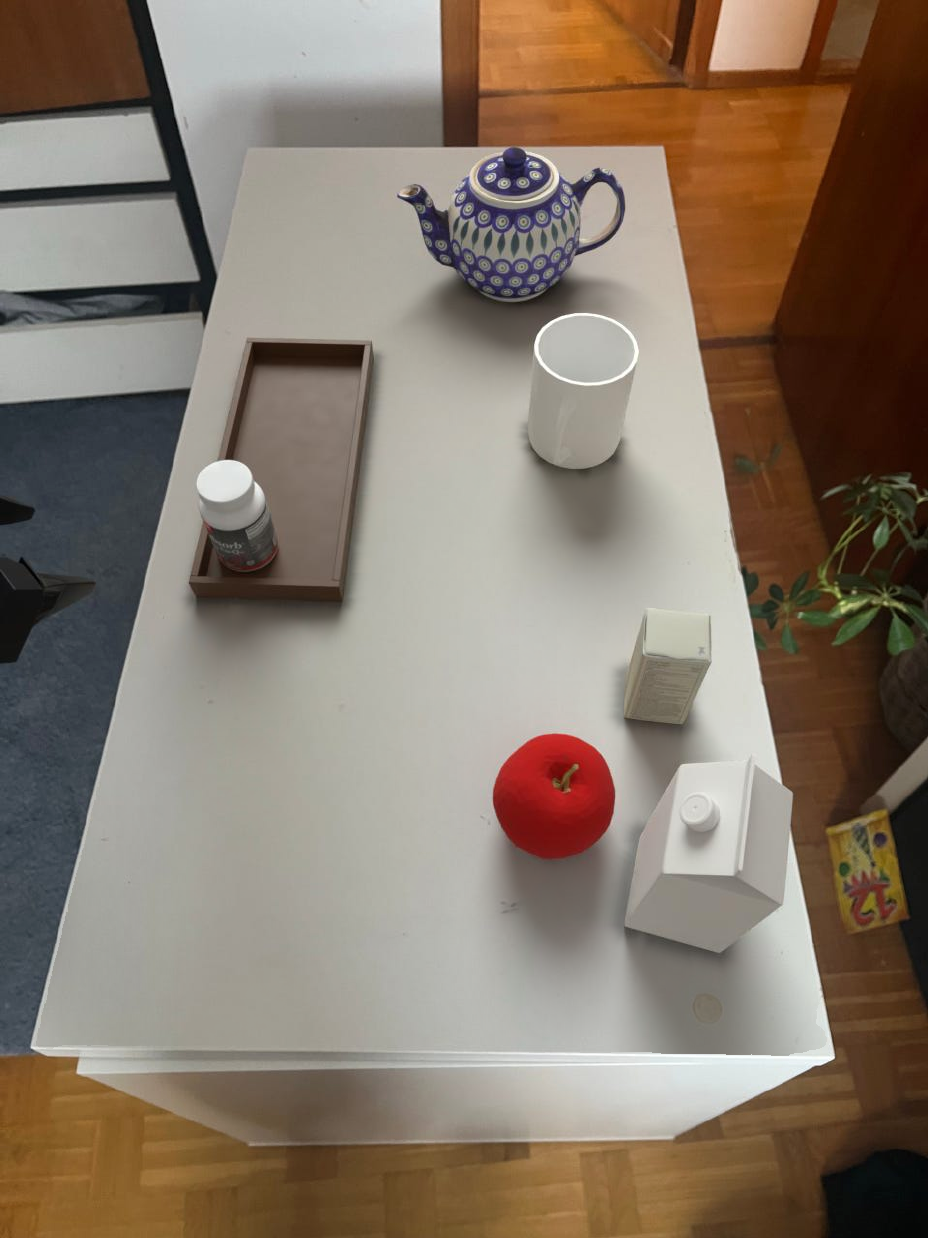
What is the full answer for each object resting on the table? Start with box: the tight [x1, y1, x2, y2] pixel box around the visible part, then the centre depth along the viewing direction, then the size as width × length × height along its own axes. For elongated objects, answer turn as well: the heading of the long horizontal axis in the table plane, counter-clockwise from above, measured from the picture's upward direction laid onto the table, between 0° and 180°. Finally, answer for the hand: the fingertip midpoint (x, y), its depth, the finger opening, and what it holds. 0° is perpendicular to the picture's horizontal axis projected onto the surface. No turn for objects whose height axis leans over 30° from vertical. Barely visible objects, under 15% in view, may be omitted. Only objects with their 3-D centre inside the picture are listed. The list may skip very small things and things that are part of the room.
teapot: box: [396, 146, 626, 303], centre depth 97 cm, size 25×15×15 cm, turn 93°
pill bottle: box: [195, 460, 278, 572], centre depth 78 cm, size 6×6×10 cm
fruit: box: [492, 732, 616, 860], centre depth 65 cm, size 9×9×10 cm
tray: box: [188, 337, 375, 603], centre depth 87 cm, size 31×13×2 cm, turn 178°
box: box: [623, 607, 713, 725], centre depth 70 cm, size 5×4×11 cm
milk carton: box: [624, 753, 794, 954], centre depth 58 cm, size 7×7×19 cm
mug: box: [527, 312, 640, 470], centre depth 84 cm, size 10×12×12 cm
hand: (62, 548), depth 66 cm, fingers open, 9 cm apart
